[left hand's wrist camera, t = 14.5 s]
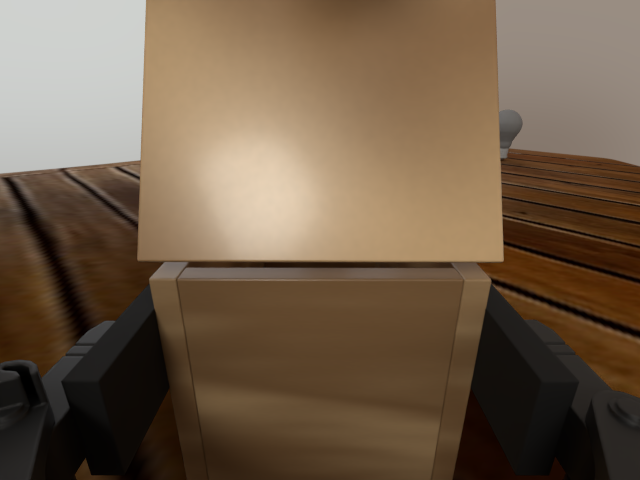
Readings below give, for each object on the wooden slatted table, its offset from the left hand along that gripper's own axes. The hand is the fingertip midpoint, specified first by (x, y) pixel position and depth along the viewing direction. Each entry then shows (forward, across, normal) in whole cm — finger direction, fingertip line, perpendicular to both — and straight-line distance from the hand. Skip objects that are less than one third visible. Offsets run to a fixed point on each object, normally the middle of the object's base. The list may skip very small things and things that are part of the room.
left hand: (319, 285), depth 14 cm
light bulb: (+67, +38, -6) cm, 78 cm away
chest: (+4, 0, -6) cm, 7 cm away
